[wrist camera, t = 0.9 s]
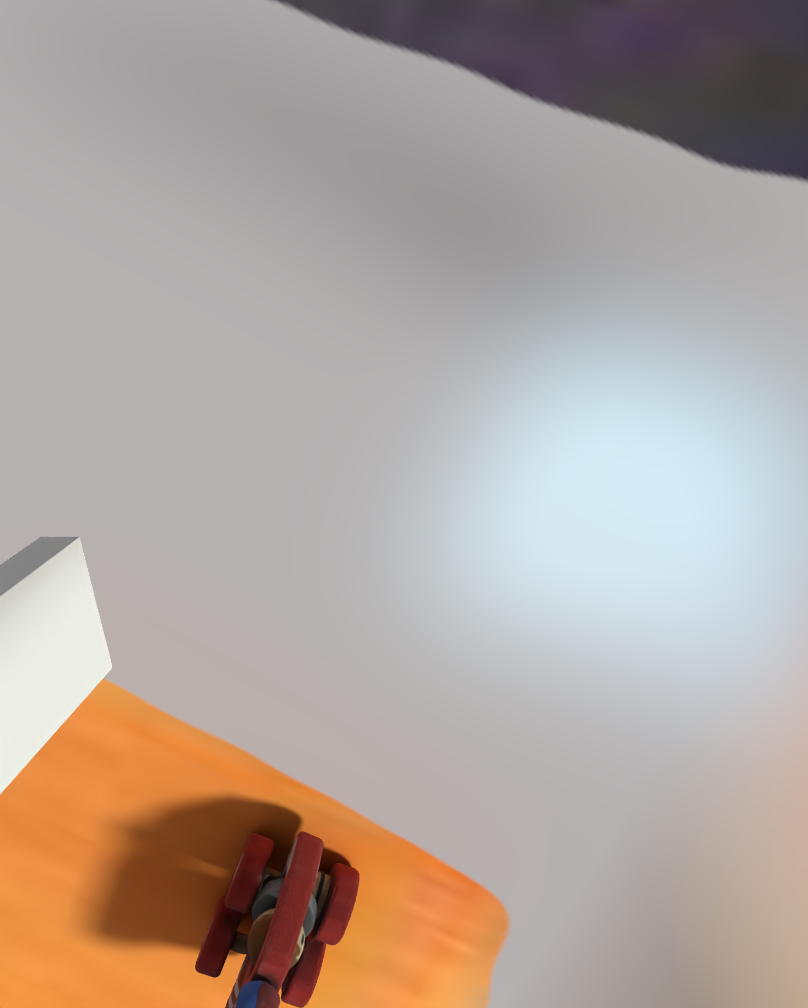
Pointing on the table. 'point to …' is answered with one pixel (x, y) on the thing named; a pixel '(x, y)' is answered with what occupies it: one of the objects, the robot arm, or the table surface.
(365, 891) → the table surface
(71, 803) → the table surface
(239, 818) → the table surface
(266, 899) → the red wheeled toy
